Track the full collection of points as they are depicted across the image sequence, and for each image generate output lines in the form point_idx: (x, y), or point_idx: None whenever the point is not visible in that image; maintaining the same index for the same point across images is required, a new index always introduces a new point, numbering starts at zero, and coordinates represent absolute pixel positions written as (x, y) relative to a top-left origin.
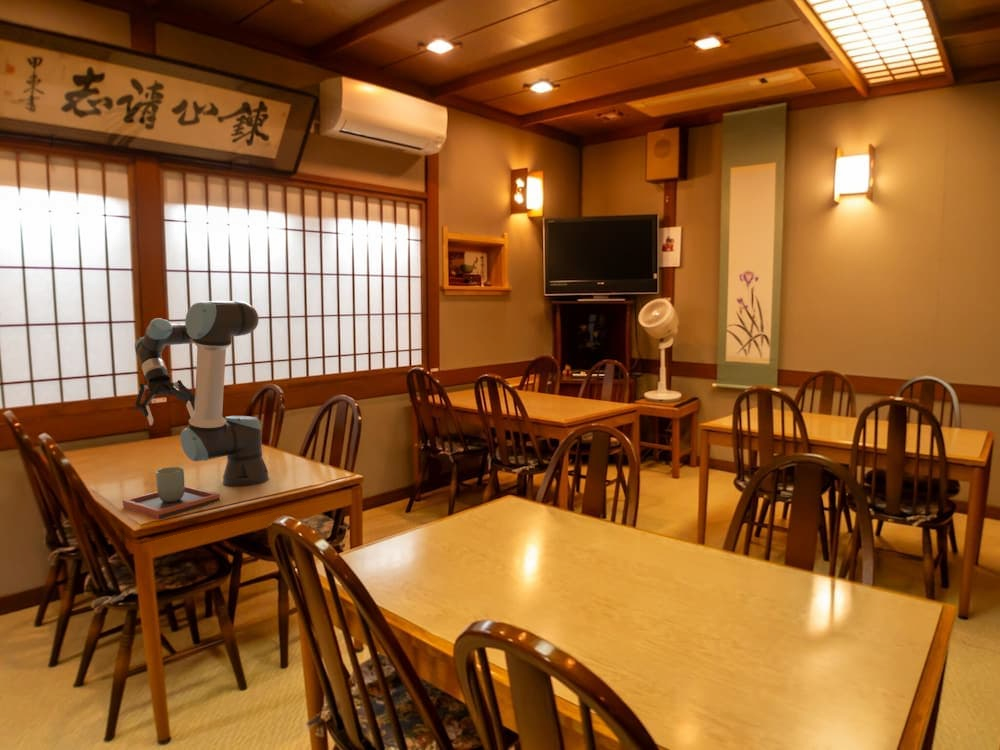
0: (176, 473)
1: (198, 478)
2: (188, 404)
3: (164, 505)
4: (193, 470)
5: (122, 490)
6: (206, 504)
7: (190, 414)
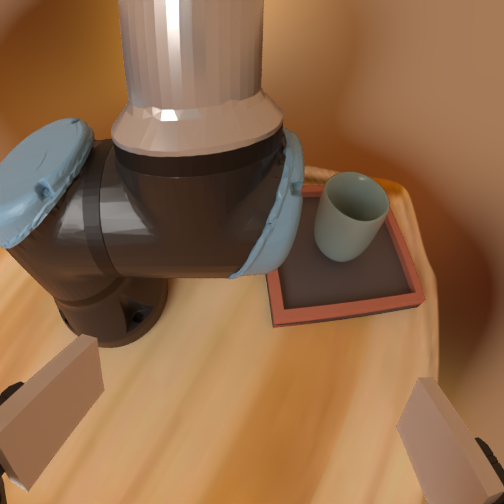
0: (347, 174)
1: (170, 428)
2: (23, 424)
3: None
4: None
5: (381, 469)
6: None
7: (81, 401)
